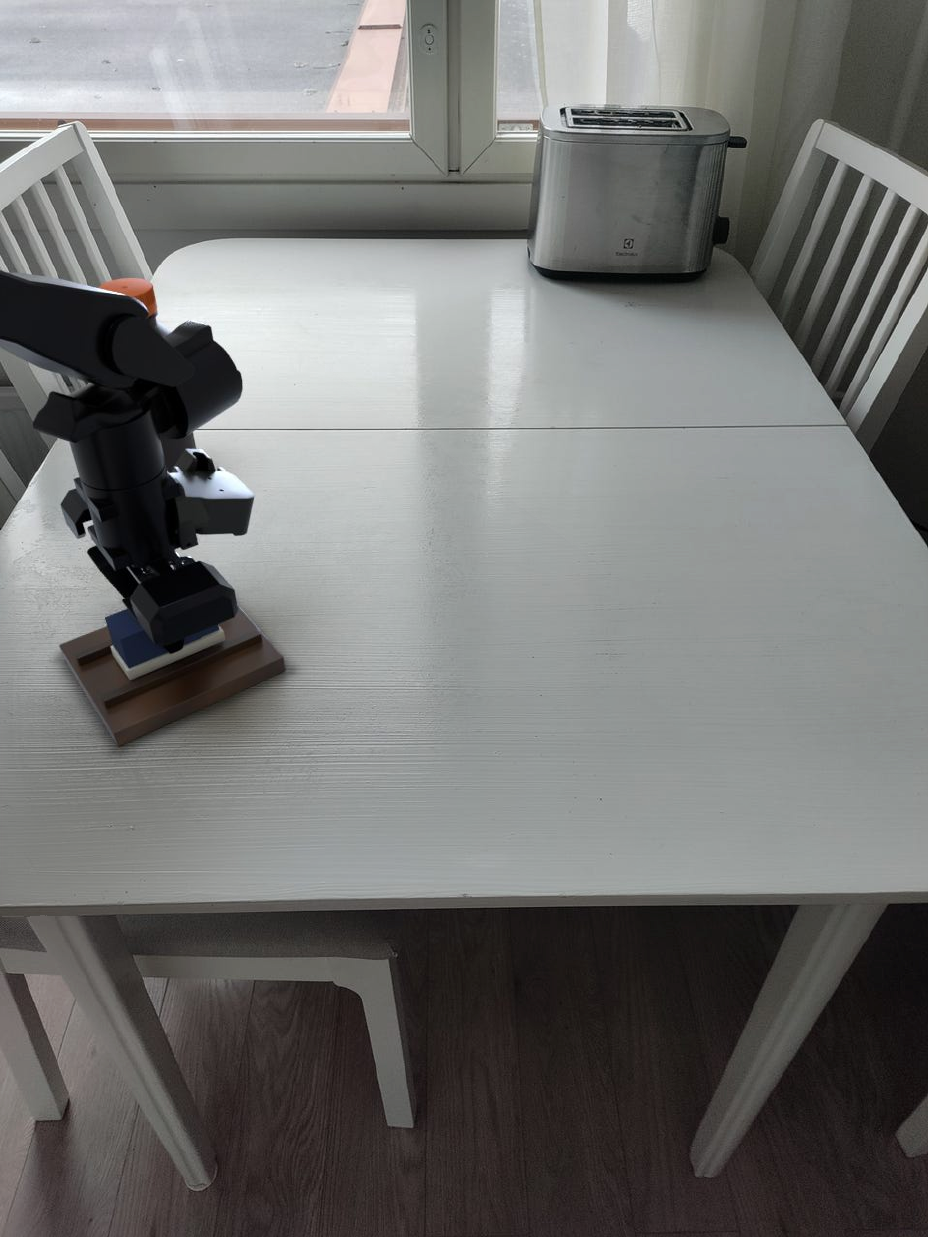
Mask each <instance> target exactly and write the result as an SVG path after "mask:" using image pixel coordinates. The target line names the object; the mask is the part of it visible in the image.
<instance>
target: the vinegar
mask: <svg viewBox="0 0 928 1237" xmlns="http://www.w3.org/2000/svg"><path fill="white" fill-rule="evenodd" d="M98 288H99V289H103V290H107V291H111V292H115V293H119V294H123V295H128V296H131V297H134V298H135V299H137V300H139V301H140V302H142V303H143V304H144V305H145V307H146V308H147V309H148V311H149V316H148V318H149V321H150V323H151V327H152V328H154V329H155V330H156V331H157V332H158V333H159V334H160V335H161V336H162V337H164V336H166V335H168V334H170V333H171V332H172V331H170V330H169V329H168V328H167V327H165V326H164V325H163V324H161V323H160V322H158V320H157V316H158V314H159V313H158V303H157V299H156V295H155V290H154V285H153V283H152V282H151V281H149V280H147V279H144V278H139V277H124V278H116V279H112V280H109V281H106V282H104V283H102V284H101V285H99V286H98ZM159 437H160V441H161V446H162V450H163V454H164V459H165V463H166V468H167V471H168V472H169V473H172V471H173V467H174V465H175V464H176V462H177V461H178V459H179V458H180V457H181V455H182V454H183V452H184V451H185V449H197V444H196V440H195V435H194V432H192V433H191V434H189V435H187V436H186V437H184V438H181V439H170V438H167V437H164V436H162V435H161V434H159Z"/></svg>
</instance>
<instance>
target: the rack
mask: <svg viewBox="0 0 928 1237" xmlns="http://www.w3.org/2000/svg"><path fill="white" fill-rule="evenodd" d="M237 605H238V612H237V614H236V616H235V617H234V618H232V619H229V620H227V621H225V622H222V623H220V624H218V625H219V626H220V627H221V629H222V630H223V631H224V636H225V641H222V642H220V643H218V644H215V645H213V646H211V647H208V648H206V649H204V650H201V651H199V652H196V653H194V654H192V655H189V656H187V657H185V658H182V659H180V660H178V661H175V662H173V663H171V664H168V665H166V666H164V667H161V668H159V669H157V670H154V671H152V672H149V673H147V674H145V675H142V676H140V677H138V678H135V679H133V680H129V678H128V677H127V675H126V674H125V672H124V671H123V669H122V668H121V666H120V665H119V663H118V662H117V660H116V659H115V658H114V656H113V654H112V650H111V647H110V646H112V645H113V643H112V640H111V637H110V633H109V630H108V627H107V625H106V626H103V627H101V628H99V629H96V630H93V631H90V632H88V633H86V634H83V635H81V636H78V637H75V638H73V639H70V640H68V641H65V642H63V643H60V644H58V647H59V650H60V653H61V655H62V658H63V660H64V661H65V663H66V665H67V667H68V668H69V670H70V671H71V673H72V674H73V676H74V678H75V679H76V682H77V683H78V685H79V686H80V688H81V689H82V691H83V692H84V694H85V695H86V698H87V699H88V702H90V704H91V706H92V707H93V709H94V710H95V712H96V714H97V715H98V717H99V719H100V720H101V722H102V724H103V725H104V727H105V728H106V730H107V732H108V734H109V735H110V737H111V738H112V739H113V741H114V743H115V745H116V747H121V746H123V745H125V744H128V743H129V742H132V741H134V740H136V739H138V738H140V737H143V736H145V735H147V734H149V733H152V732H153V731H156V730H158V729H161V728H162V727H165V726H167V725H170V724H171V723H174V722H176V721H179V720H180V719H182V718H185V717H187V716H189V715H191V714H194V713H196V712H198V711H200V710H203V709H204V708H207V707H209V706H211V705H214V704H215V703H217V702H220V701H222V700H225V699H226V698H228V697H231V696H233V695H235V694H237V693H239V692H242V691H244V690H246V689H248V688H251V687H253V686H255V685H257V684H259V683H262V682H264V681H266V680H268V679H271V678H272V677H275V676H277V675H280V674H281V673H283V672H286V670H287V669H286V663H285V658H284V655H282V653H281V652H280V651H279V650H278V649H277V648H276V647H275V645H274V644H273V643H272V642H271V641H270V640H269V638H267V636H266V635H265V634H264V632H262V631H261V629H260V628H259V627H258V626H257V624H256V623H255V622H254V621H253V620H252V619H251V618H250V617H249V616H248V614H247V613H246V612H245V611H244V609H242V608H241V606H240V605H239V604H238V603H237Z"/></svg>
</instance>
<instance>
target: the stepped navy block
mask: <svg viewBox="0 0 928 1237" xmlns="http://www.w3.org/2000/svg"><path fill="white" fill-rule="evenodd" d="M104 620H105V621H104V622H105V624H106V626H107V627H108V630H109V633H110V637H111V640H112V643H113V645H112V646H110V647H111V650H112V654H113V656H114V658H115V659H116V660H117V662H118V663H119V665H120V666H121V668H122V669H123V671H124V672H125V674H126V675H127V677H128V678H129V680H133V679H135V678H138V677H140V676H142V675H145V674H147V673H149V672H152V671H154V670H157V669H159V668H161V667H164V666H166V665H168V664H171V663H173V662H175V661H178V660H180V659H182V658H185V657H187V656H189V655H192V654H194V653H196V652H199V651H201V650H204V649H206V648H208V647H211V646H213V645H215V644H218V643H220V642H222V641H225V636H224V631H223V630H222V629H221V627H220V626H219V625H218V624H217V625H215V626H213V627H210V628H208V629H205V630H203V631H200V632H198V633H196V634H193V635H191V636H188V637H186V638H185V640H184V645H183V649H182V650H180V651H178V652H175V653H173V654H170V653H168V652H167V650H166V649H165V648H164V647H163V646H162V645H155V644H154V643H153V641H152V640H151V639H150V637H149V636H148V635H147V633H146V632H145V631H144V629H143V628H142V626H141V625H140V623H139V622H137V621H136V620H135V618H134V617H133V616H132V614H131V613H130V612H129V610H128V609H127V608H125V609H123V610H120V611H117V612H115V613H112V614H109V615H107V616H105V617H104Z"/></svg>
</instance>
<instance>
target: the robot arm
mask: <svg viewBox="0 0 928 1237" xmlns="http://www.w3.org/2000/svg"><path fill="white" fill-rule="evenodd" d="M148 316H149V311H148V309H147V308H146V307H145V305H144V304H143V303H142V302H140V301H139V300H137V299H135V298H134V297H131V296H128V295H123V294H119V293H115V292H111V291H107V290H103V289H99V287H95V286H91V285H86V284H83V283H79V282H74V281H70V280H67V279H62V278H58V277H53V276H45V275H38V274H31V273H25V272H13V271H12V272H10V271H9V272H8V271H4V270H1V269H0V348H1V349H2V350H4V351H5V352H8V353H10V354H11V355H14V356H15V357H18V358H19V359H21V360H23V361H25V362H28V363H30V364H32V365H33V366H36V367H37V368H40V369H43V370H45V371H48V372H52V373H55V374H58V375H62V376H66V377H68V378H71V379H75V380H79V381H82V382H86V383H87V384H85V385H84V386H82V387H80V388H78V389H76V390H74V391H72V392H71V393H69V394H65V393H62V392H58V391H56V390H51V391H50V392H49V393H48V395H47V399H46V402H45V404H44V405H43V406H42V407H41V408H40V409H39V410H38V411H37V413H36V415H35V417H34V419H33V420H32V422H31V428H32V429H33V430H34V431H35V432H38V433H41V434H43V435H47V436H50V437H53V438H56V439H59V440H63V441H65V442H68V443H69V446H70V449H71V452H72V457H73V460H74V463H75V466H76V470H77V473H78V477H75V478H73V482H74V486H75V488H72V489H69V490H68V491H67V493H66V494H65V496H64V497H63V499H62V501H61V502H60V505H59V506H60V509H61V511H62V515H63V518H64V521H65V524H66V525H67V527H68V528H69V530H70V531H71V532H72V534H73V535H74V536H75V538H76V539H77V540H80V539H83V538H85V537H86V535H87V532H88V534H89V537H90V539H91V541H92V542H93V543H94V544H95V545H93V546H91V547H89V548H87V551H86V554H87V556H88V557H89V558H90V560H91V561H92V562H93V564H94V565H95V566H96V568H97V570H98V571H99V572H100V573H101V574H102V575H103V577H104V578H105V579H106V580H107V581H108V582H109V583H110V584H111V585H112V587H113V588H114V589H115V590H116V591H117V592H118V594H120V596H121V597H122V599H121V602H122V604H123V605H124V607H125V609H128V610H129V612H130V613H131V614H132V616H133V617H134V618H135V620H136V621H137V622H139V623H140V625H141V626H142V628H143V629H144V631H145V632H146V633H147V635H148V636H149V637H150V639H151V640H152V641H153V643H154V644H155V645H162V646H163V647H164V648H165V649H166V650H167V652H168V653H170V654H173V653H175V652H178V651H180V650H182V649H183V645H184V640H185V638H186V637H188V636H191V635H193V634H196V633H198V632H200V631H203V630H205V629H208V628H210V627H213V626H215V625H217V624H220V623H222V622H225V621H227V620H229V619H232V618H234V617H235V616H236V614H237V612H238V605H239V604H238V601H237V595H236V590H235V588H233V586H232V585H231V584H230V582H228V581H227V579H225V577H224V576H223V575H222V574H221V573H220V571H219V570H218V569H217V567H215V566H214V565H212V564H209V563H207V562H204V561H202V560H197V561H196V560H195V559H194V558H193V557H191V556H187V555H186V556H185V555H184V556H180V555H179V553H177V552H176V550H177V549H180V550H182V551H185V550H188V549H190V548H194V547H197V546H199V541H198V536H197V535H201V536H203V535H204V536H207V535H208V536H211V535H233V536H235V537H240V536H245V535H246V534H247V533H248V530H249V527H250V520H251V516H252V511H253V506H254V502H255V497H256V496H255V493H254V492H253V490H251V489H250V488H249V487H248V486H247V485H245V483H244V482H243V481H242V480H241V479H240V478H238V477H237V476H236V475H235V474H233V473H232V472H231V473H230V472H228V471H227V470H225V468H224V467H222V466H220V467H219V466H218V467H217V469H216V466H215V464H214V461H213V459H212V458H211V457H210V456H209V455H208V453H206V452H205V450H204V449H201V448H196V449H185V451H184V452H183V454H182V455H181V457H180V458H179V459H178V461H177V462H176V464H175V465H174V467H173V471H172V473H169V472H168V471H167V468H166V463H165V459H164V454H163V450H162V446H161V441H160V437H159V434H161V435H162V436H164V437H167V438H170V439H181V438H184V437H186V436H187V435H189V434H191V433H192V432H193V433H194V432H195V431H196V430H198V429H199V428H201V427H202V426H205V425H206V424H207V423H209V422H210V421H212V420H213V419H215V418H216V417H218V416H219V415H221V414H222V413H224V412H226V411H227V410H228V409H230V408H232V407H233V406H234V405H236V404H237V403H238V402H239V401H240V399H241V397H242V394H243V388H244V387H243V386H244V385H243V378H242V377H243V376H242V373H241V371H240V370H238V368H237V366H236V363H235V361H234V360H233V358H232V356H231V355H230V354H229V353H228V352H227V350H226V349H225V348H224V347H222V345H221V344H220V343H218V342H217V341H216V340H214V336H213V330H212V329H213V328H212V326H211V325H209V324H207V323H206V324H205V323H202V322H198V321H194V320H191V319H188V320H187V321H185V322H183V323H180V324H179V325H177V326H176V327H175V328H174V329H173V330H172V331H170V332H171V333H170V334H168V335H166V336H164V337H162V336H161V335H160V334H159V333H158V332H157V331H156V330H155V329H154V328H152V327H151V323H150V321H149V318H148ZM88 522H92V525H89V526H87V531H86V529H85V524H84V523H88ZM237 604H238V605H237Z"/></svg>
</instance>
